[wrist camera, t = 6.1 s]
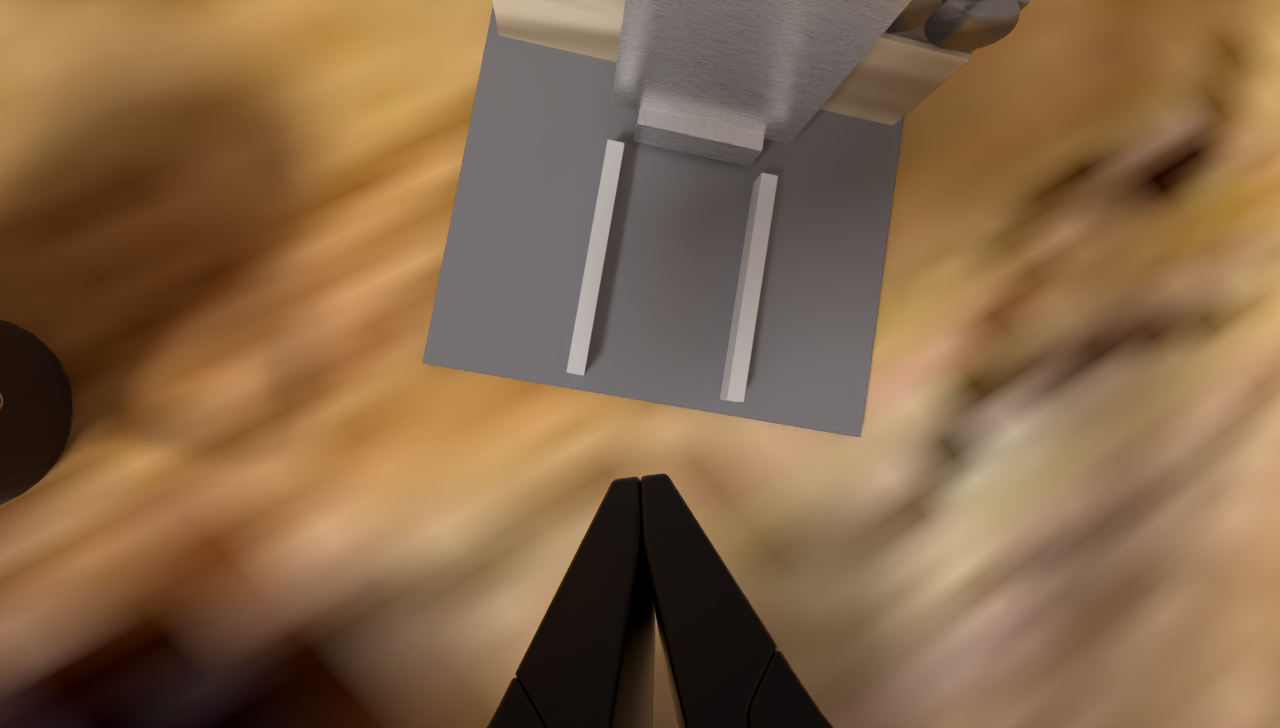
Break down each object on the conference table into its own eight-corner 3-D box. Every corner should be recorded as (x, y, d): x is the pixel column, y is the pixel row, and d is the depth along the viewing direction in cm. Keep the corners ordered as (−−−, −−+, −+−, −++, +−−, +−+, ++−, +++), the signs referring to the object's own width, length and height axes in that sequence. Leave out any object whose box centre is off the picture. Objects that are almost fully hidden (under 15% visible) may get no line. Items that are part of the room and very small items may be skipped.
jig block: (892, 125, 23) (969, 59, 19) (499, 35, 22) (480, -61, 17) (900, 67, 23) (978, -12, 19) (510, -27, 22) (496, -137, 17)
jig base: (852, 436, 23) (874, 438, 21) (426, 364, 21) (415, 360, 20) (903, 66, 24) (927, 42, 23) (504, -31, 22) (499, -64, 21)
